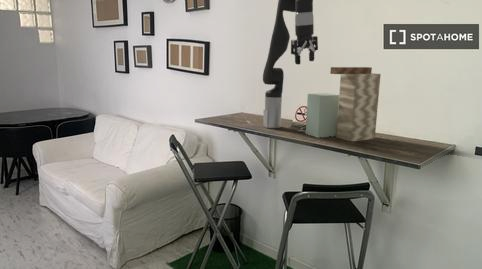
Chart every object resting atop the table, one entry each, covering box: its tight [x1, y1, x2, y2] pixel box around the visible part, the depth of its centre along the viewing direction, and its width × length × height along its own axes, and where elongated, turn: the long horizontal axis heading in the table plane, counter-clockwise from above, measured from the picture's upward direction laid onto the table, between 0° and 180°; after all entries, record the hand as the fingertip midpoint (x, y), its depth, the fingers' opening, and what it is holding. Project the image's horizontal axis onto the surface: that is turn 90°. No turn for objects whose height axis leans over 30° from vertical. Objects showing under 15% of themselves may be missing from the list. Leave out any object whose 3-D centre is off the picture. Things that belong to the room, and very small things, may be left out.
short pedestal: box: [305, 92, 339, 139], centre depth 193 cm, size 12×10×21 cm
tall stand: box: [335, 72, 382, 142], centre depth 186 cm, size 16×10×32 cm, turn 117°
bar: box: [329, 66, 373, 75], centre depth 180 cm, size 22×4×3 cm, turn 117°
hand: (304, 62), depth 163 cm, fingers open, 8 cm apart
